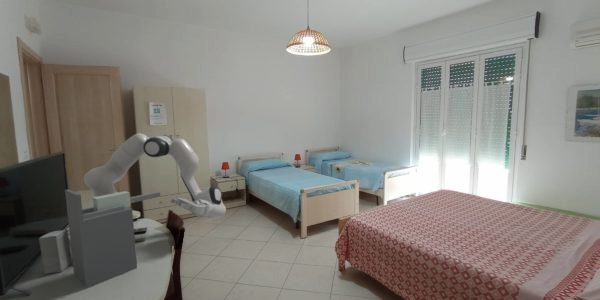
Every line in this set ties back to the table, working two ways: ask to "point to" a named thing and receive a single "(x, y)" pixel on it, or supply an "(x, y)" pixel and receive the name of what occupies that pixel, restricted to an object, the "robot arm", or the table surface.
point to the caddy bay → (100, 241)
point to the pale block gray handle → (119, 200)
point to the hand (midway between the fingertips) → (175, 202)
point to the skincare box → (55, 251)
